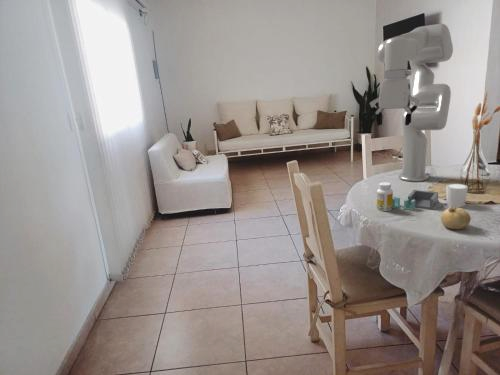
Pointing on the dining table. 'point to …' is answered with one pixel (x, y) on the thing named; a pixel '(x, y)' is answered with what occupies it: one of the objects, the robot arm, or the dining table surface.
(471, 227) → the dining table surface
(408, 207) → the clip
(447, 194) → the white cup
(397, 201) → the clip
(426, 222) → the dining table surface
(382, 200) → the supplement bottle
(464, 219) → the onion
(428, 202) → the holder
